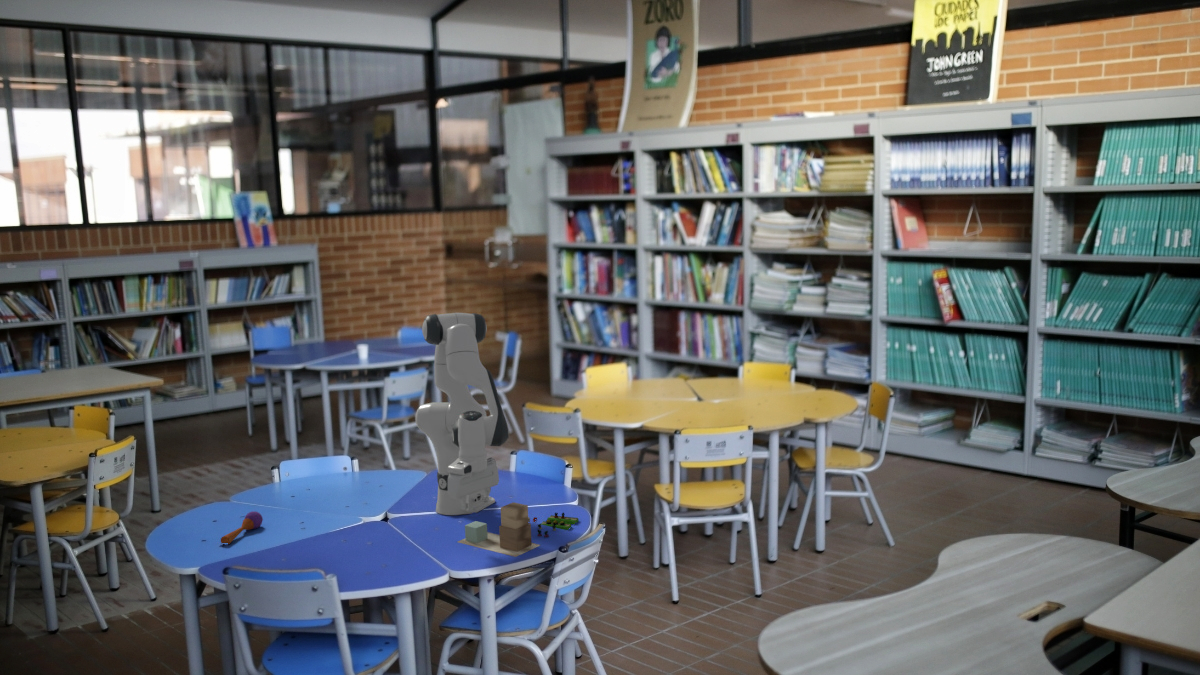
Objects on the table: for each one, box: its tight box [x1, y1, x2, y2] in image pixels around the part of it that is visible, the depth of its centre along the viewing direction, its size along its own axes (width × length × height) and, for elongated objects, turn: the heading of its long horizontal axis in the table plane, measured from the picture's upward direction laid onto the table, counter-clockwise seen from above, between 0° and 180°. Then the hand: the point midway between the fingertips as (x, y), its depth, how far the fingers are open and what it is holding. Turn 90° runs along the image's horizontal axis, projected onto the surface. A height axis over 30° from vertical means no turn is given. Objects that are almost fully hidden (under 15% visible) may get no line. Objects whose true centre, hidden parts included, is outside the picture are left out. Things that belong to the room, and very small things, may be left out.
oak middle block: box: [500, 502, 530, 529], centre depth 305 cm, size 6×6×6 cm
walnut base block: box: [498, 522, 533, 552], centre depth 306 cm, size 7×7×7 cm
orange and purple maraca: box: [220, 510, 264, 545], centre depth 330 cm, size 6×6×20 cm
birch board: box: [457, 531, 541, 558], centre depth 310 cm, size 12×25×2 cm, turn 54°
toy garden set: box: [528, 512, 580, 538], centre depth 326 cm, size 23×19×5 cm
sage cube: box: [464, 520, 488, 543], centre depth 314 cm, size 5×5×5 cm
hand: (475, 505), depth 312 cm, fingers open, 8 cm apart
